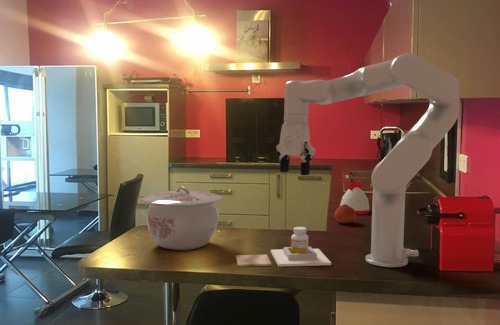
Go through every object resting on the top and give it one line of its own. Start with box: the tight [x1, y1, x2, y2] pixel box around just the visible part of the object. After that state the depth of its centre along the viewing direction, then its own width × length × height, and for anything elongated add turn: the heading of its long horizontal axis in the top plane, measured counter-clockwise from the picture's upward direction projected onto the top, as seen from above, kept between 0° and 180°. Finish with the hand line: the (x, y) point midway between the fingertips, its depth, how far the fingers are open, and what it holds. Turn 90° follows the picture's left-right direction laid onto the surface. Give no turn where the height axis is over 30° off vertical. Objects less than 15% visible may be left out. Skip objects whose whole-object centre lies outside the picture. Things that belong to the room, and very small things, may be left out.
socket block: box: [270, 246, 332, 268], centre depth 155 cm, size 16×16×2 cm
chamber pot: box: [141, 185, 223, 251], centre depth 169 cm, size 28×28×21 cm
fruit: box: [334, 204, 357, 225], centre depth 207 cm, size 9×9×8 cm
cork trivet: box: [235, 254, 272, 267], centre depth 151 cm, size 10×10×1 cm
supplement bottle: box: [290, 226, 309, 254], centre depth 154 cm, size 5×5×10 cm
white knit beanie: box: [339, 179, 370, 215], centre depth 234 cm, size 14×14×15 cm
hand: (294, 173), depth 158 cm, fingers open, 9 cm apart
